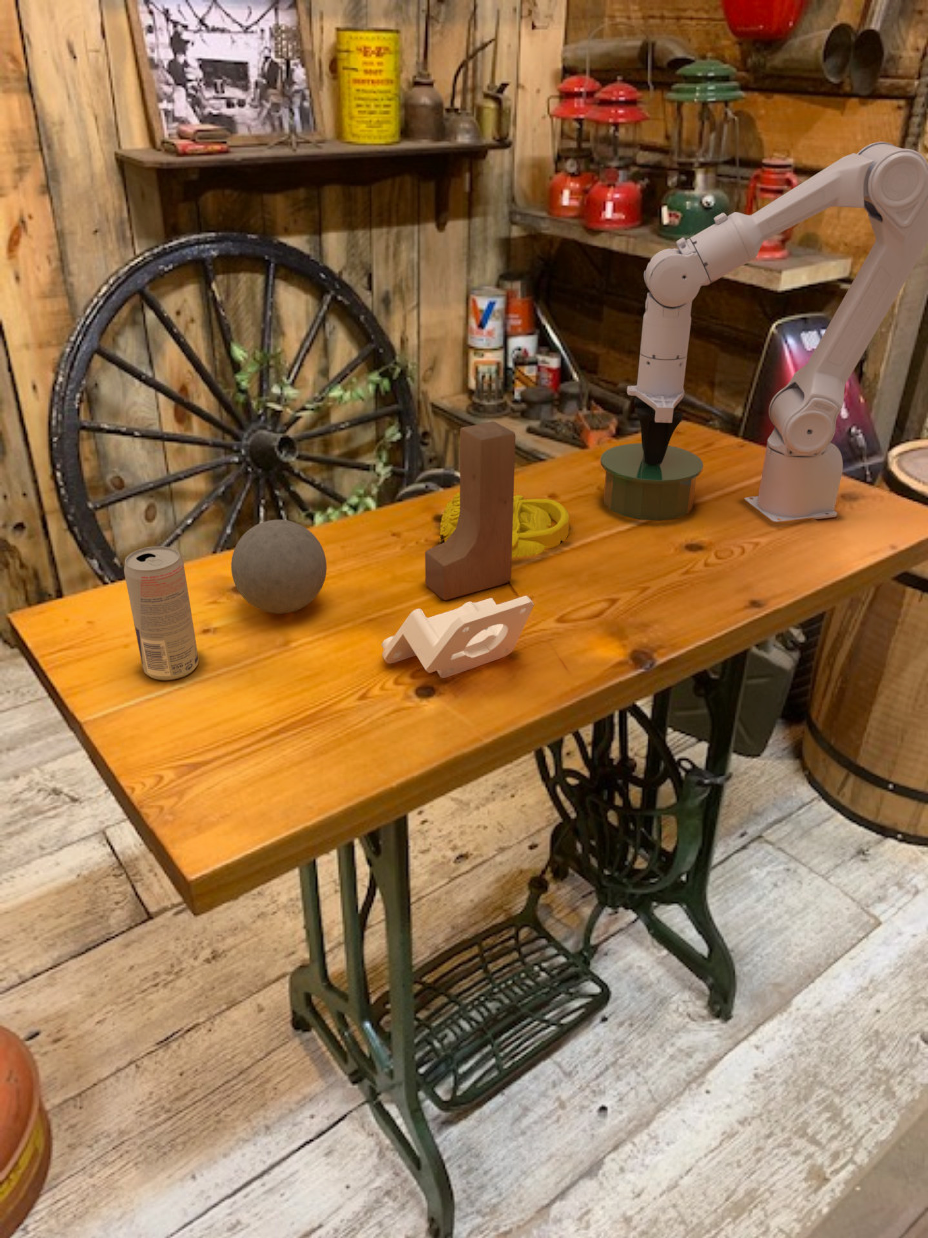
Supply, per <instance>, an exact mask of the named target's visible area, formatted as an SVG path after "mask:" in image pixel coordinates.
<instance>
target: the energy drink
mask: <svg viewBox="0 0 928 1238" xmlns="http://www.w3.org/2000/svg"><path fill="white" fill-rule="evenodd" d="M123 573H124V578H125V583H126V589H127V594H128V599H129V605H130V610H131V615H132V619H133V624H134V630H135V636H136V641H137V646H138V651H139V657H140V661H141V667H142V671H143V672H144V674H145V675H147V676H148V677H150V678H151V679H154V680H157V681H173V680H178V679H182V678H184V677H186V676H188V675H190V674H191V673H192V672H193V671H194V670H196V668H197V667H198V665H199V661H200V659H199V658H200V657H199V653H198V652H199V651H198V646H197V639H196V633H195V627H194V620H193V614H192V608H191V601H190V595H189V588H188V583H187V576H186V569H185V562H184V560H183V558H182V557H181V554H180V552H179V551H178V550H177V549H176V548H172V547H169V546H162V545H161V546H160V545H158V546H157V545H156V546H148V547H144V548H140V549H137V550H135V551H133V552H131V553H129V554H128V555H127V556H126V557H125V559H124V567H123Z"/></svg>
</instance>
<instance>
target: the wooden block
mask: <svg viewBox="0 0 928 1238" xmlns="http://www.w3.org/2000/svg"><path fill="white" fill-rule="evenodd" d="M516 438H517V437H516V432H515V431H512V430H511V429H509V428H507V427H505V426H504V425H502V424H500V423H498V422H497V421H488V422H483V423H478V424H473V425H468V426H463V427H461V428H460V430H459V493H460V514H459V518H458V523H457V527H456V529H455V530H454V532H453V533H452V534H451V536H450V537H449V538H448V539H447V541H446V542H445V541H444V542H441V543H440V544H438V545H435V546H433V547H431V548H428V549H427V550H425V552H424V572H425V573H424V574H425V575H424V576H425V581H424V582H425V585H426V587H427V588H429V589H430V590H431V591H432V592H433V593H434V594H436V595H437V596H438V597H439V598H440V599H441V600H443V601H449V600H452V599H455V598H459V597H462V596H466V595H470V594H473V593H476V592H480V591H483V590H487V589H491V588H494V587H497V586H502V585H505V584H509V583H510V582H511V581H510V580H511V579H512V561H513V558H512V530H513V499H514V496H515V495H514V493H515V492H514V491H515V465H516V464H515V463H516Z"/></svg>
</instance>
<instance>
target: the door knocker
mask: <svg viewBox="0 0 928 1238" xmlns="http://www.w3.org/2000/svg"><path fill="white" fill-rule="evenodd" d="M459 514H460V492H457V493H455V494H454V495H453V496H452V499H451V500H450V501H448V502H447V504H446V505H445V507H444V509H443V513H442V514H441V515H442V516H441V520H440V523H439V536H440V537H439V543H442V541H443V540H444V542H446V541H447V539H448V538H449V537H450V536H451V534H452V533H453V532H454V530H455V529H456V527H457V523H458V518H459ZM552 520H553V521H554V522H555V523H556V524H555V525H553V526H552ZM569 533H570V514H569V512H568V510H567V509H566V507H564V506H563V505H562V504H561V503H560V502H558V501H556V500H553V499H549V498H529V499H527V498H526V499H524V495H523V494H516V495H514V499H513V530H512V559H514V558H516V557H517V558H523V557H531V556H533V555H535V556H536V555H539V554H542V553H543V552H544V551H546V550H549V549H553V548H555V547H558V546H559V545H561V541H562V542H565V541H566V540H567V539H568V536H569Z"/></svg>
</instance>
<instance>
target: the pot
mask: <svg viewBox="0 0 928 1238" xmlns="http://www.w3.org/2000/svg"><path fill="white" fill-rule="evenodd" d="M604 478H605V479H604V489H603V491H604V492H603V505H605V506H606V507H607V508H608V509H609V510H610V511H611V512H614V513H615V514H618V515H620V516H622V517H626V518H630V519H635V520H641V521H654V522H657V521H658V522H660V521H668V520H669V521H670V520H675V519H678V518H681V517H683V516H687V515H688V514H689V513H690V511H692V509H693V507H694V499H695V493H696V492H695V491H696V485H697V484H696V483H697V477H695V478H693V479H691V480H688V481H684V482H678V483H669V484H651V483H641V482H635V481H630V480H626V479H623V478H620V477H617V476H615V475H613V474H611V473H609V472H607V471H606V470H605V477H604Z"/></svg>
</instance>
